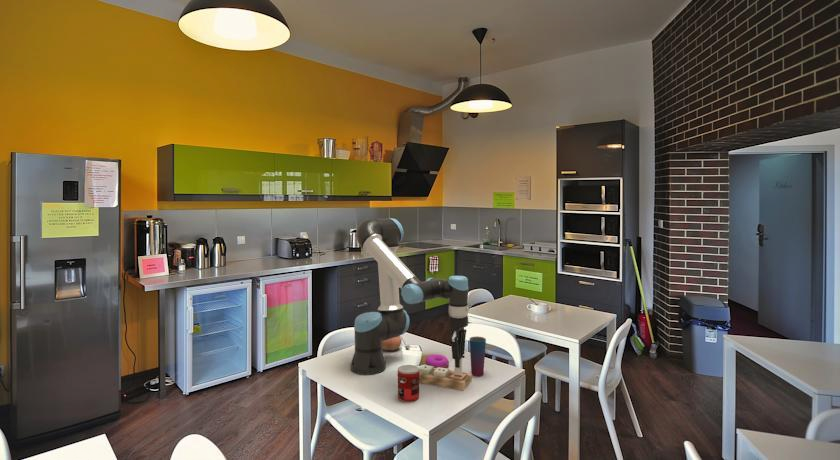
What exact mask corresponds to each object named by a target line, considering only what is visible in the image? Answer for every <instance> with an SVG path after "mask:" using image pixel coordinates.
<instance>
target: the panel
mask: <svg viewBox="0 0 840 460" xmlns="http://www.w3.org/2000/svg"><path fill="white" fill-rule="evenodd" d="M436 369H437V368H434V370H436ZM454 372H455V370H450V374H449V375H448V376H447V377H446V378H445V377H439V376H434V371H433V372H432V373H431V374H430V375H427V374H422V373H419V384H424V385H431V386H435V387H442V388H447V389H451V390H452V389H453V390H459V391H464V390H466V388H467V387H468V386H469V385H470V384H471V383H472V377H473V375H472V374H471V373H469V372H463V371H462V374H466V378H465V379H464V380H463V381H462V380H456V379H451V378H450V376H451V375H452V374H453V373H454Z"/></svg>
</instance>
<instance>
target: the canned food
mask: <svg viewBox="0 0 840 460" xmlns="http://www.w3.org/2000/svg"><path fill="white" fill-rule="evenodd" d="M419 367H420V366H417V365H414V364H413V365H412V364H402V365H401V366H399V367H397V397H398V400H400V401H402V402H405V403H408V402H409V403H411V402H415V401H417V400H418V399H419V397H420V383H419Z"/></svg>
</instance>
